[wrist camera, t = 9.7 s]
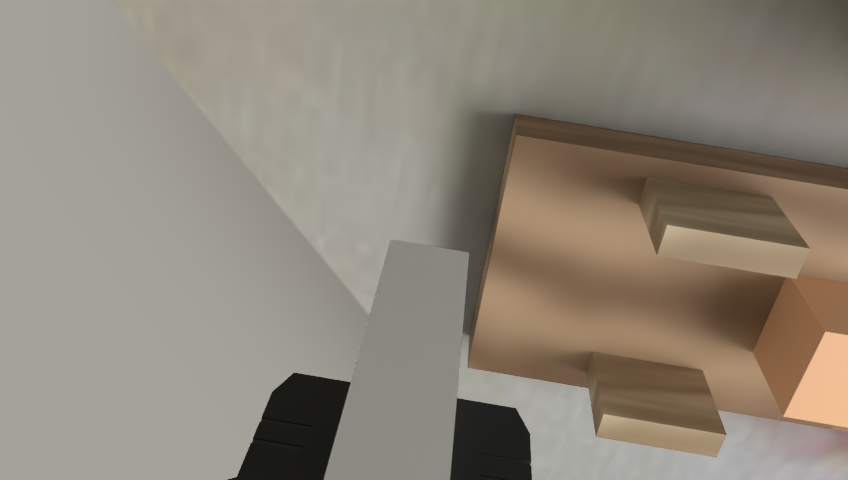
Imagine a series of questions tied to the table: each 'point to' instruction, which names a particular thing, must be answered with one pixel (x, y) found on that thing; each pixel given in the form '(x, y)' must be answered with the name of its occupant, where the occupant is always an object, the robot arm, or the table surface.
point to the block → (808, 350)
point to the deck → (650, 274)
